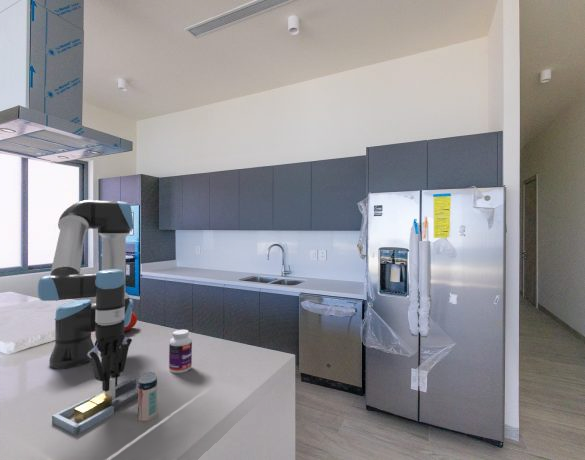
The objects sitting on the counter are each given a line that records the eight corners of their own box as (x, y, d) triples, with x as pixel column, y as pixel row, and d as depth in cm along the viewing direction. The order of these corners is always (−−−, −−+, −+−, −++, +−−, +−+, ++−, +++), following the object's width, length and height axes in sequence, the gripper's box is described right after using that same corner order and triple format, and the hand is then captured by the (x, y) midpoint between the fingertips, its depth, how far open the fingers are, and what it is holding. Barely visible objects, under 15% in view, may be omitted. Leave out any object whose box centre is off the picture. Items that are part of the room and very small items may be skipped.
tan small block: (74, 419, 83) (74, 408, 83) (89, 411, 87) (89, 401, 87) (83, 423, 81) (83, 412, 81) (97, 415, 85) (98, 404, 85)
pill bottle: (184, 376, 109) (184, 336, 109) (164, 373, 110) (164, 334, 110) (195, 366, 117) (196, 329, 116) (177, 363, 118) (177, 327, 118)
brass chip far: (89, 410, 87) (89, 400, 87) (103, 403, 90) (103, 393, 90) (98, 414, 85) (98, 403, 85) (111, 406, 89) (111, 396, 89)
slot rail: (93, 404, 91) (93, 396, 91) (132, 384, 102) (132, 377, 102) (114, 413, 86) (114, 405, 86) (152, 391, 98) (152, 384, 98)
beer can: (142, 412, 87) (142, 371, 87) (159, 411, 87) (159, 371, 87) (135, 423, 82) (135, 379, 82) (152, 422, 83) (153, 379, 83)
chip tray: (52, 424, 81) (52, 415, 81) (90, 405, 90) (90, 396, 90) (75, 437, 77) (76, 427, 77) (113, 415, 86) (113, 406, 86)
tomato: (96, 332, 153) (96, 312, 153) (130, 324, 165) (130, 306, 165) (106, 339, 144) (107, 318, 143) (141, 330, 156) (141, 311, 156)
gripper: (96, 330, 82) (95, 415, 83) (138, 317, 94) (137, 391, 94) (79, 326, 86) (79, 407, 86) (122, 314, 97) (122, 386, 98)
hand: (109, 399), depth 90 cm, fingers closed
